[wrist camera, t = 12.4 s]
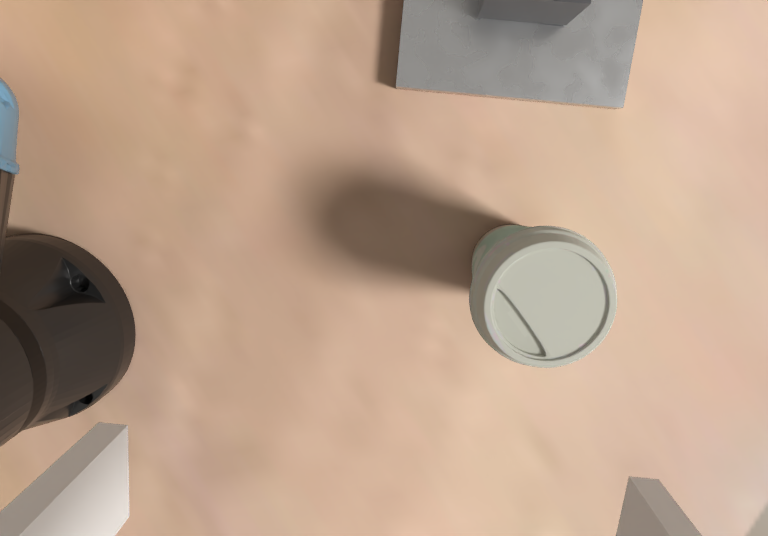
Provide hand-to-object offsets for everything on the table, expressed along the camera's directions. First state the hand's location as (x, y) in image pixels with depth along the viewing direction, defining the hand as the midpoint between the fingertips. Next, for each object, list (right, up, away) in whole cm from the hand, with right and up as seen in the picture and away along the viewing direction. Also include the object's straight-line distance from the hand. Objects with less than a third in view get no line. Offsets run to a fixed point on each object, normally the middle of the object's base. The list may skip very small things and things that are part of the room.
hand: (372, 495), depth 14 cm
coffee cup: (+10, +6, +28) cm, 30 cm away
